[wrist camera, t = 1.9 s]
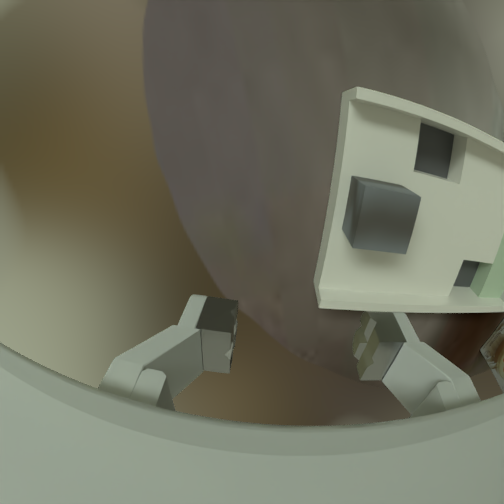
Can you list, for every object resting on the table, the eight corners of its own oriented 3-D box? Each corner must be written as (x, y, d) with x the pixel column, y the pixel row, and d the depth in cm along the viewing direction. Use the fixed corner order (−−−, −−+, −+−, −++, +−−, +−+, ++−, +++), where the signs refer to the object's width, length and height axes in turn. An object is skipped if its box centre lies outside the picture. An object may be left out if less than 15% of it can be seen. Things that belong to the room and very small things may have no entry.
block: (351, 175, 22) (365, 186, 18) (401, 185, 22) (421, 197, 18) (341, 229, 24) (352, 248, 21) (389, 235, 24) (405, 254, 20)
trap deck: (342, 92, 21) (365, 83, 15) (531, 166, 20) (564, 181, 14) (313, 280, 30) (321, 321, 24) (492, 292, 29) (515, 319, 23)
